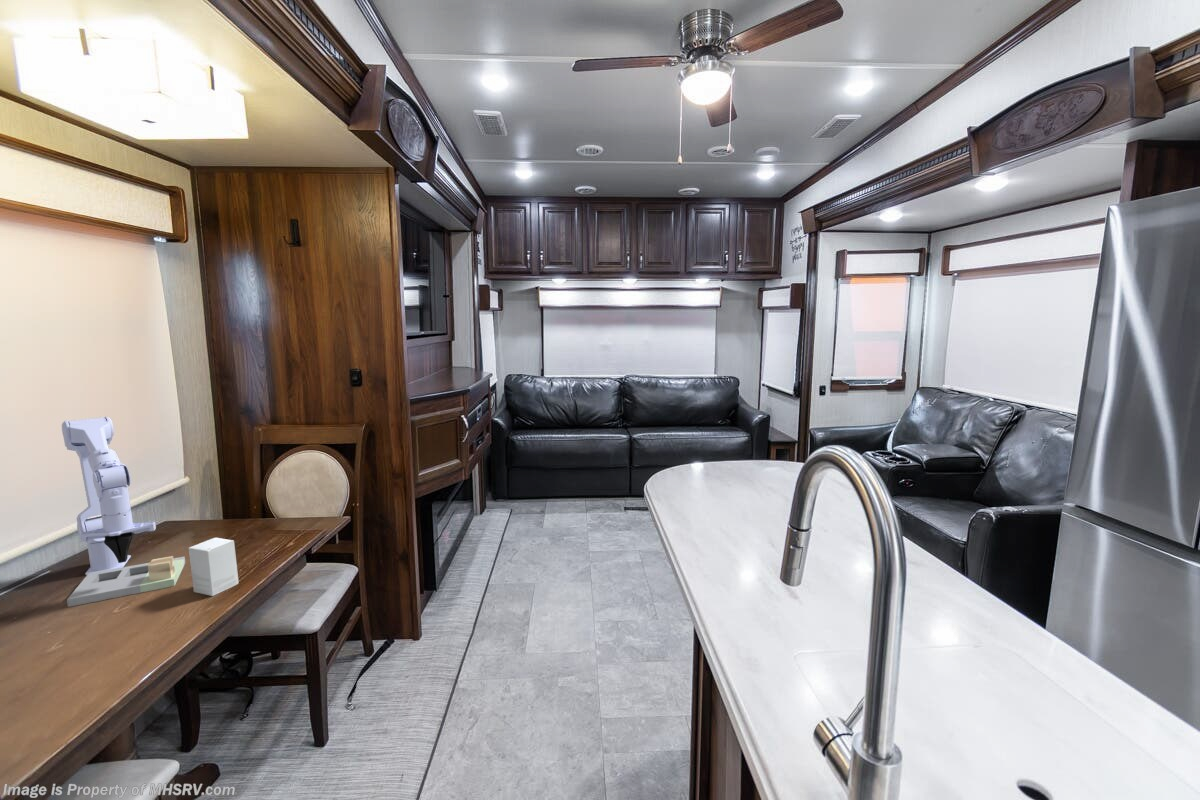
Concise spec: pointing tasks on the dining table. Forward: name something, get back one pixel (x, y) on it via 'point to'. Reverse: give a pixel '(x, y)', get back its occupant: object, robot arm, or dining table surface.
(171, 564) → the maple block
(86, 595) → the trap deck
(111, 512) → the robot arm
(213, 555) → the supplement box
